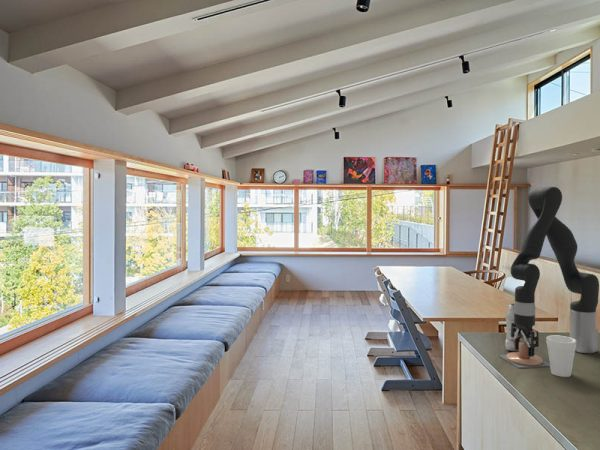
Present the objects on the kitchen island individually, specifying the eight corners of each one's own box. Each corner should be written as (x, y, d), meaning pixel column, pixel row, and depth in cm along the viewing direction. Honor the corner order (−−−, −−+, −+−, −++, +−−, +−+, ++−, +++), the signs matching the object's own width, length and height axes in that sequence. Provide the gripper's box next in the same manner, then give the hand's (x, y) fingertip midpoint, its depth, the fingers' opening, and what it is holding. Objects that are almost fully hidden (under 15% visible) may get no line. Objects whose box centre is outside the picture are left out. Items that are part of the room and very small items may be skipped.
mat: (529, 354, 181) (529, 353, 181) (552, 366, 167) (552, 365, 167) (498, 355, 180) (498, 354, 180) (518, 368, 166) (518, 367, 166)
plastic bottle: (518, 348, 189) (518, 302, 188) (524, 353, 182) (524, 306, 181) (502, 347, 190) (502, 302, 189) (508, 353, 183) (508, 306, 182)
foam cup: (578, 379, 154) (578, 344, 154) (549, 376, 157) (549, 341, 157) (572, 370, 163) (572, 336, 163) (544, 367, 166) (544, 334, 166)
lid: (529, 353, 181) (529, 337, 180) (550, 364, 168) (550, 347, 168) (499, 355, 179) (499, 338, 179) (519, 366, 166) (519, 348, 166)
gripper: (545, 316, 166) (544, 358, 167) (522, 308, 180) (521, 346, 181) (527, 317, 165) (526, 359, 166) (505, 308, 179) (504, 347, 180)
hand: (524, 352), depth 173 cm, fingers open, 8 cm apart
